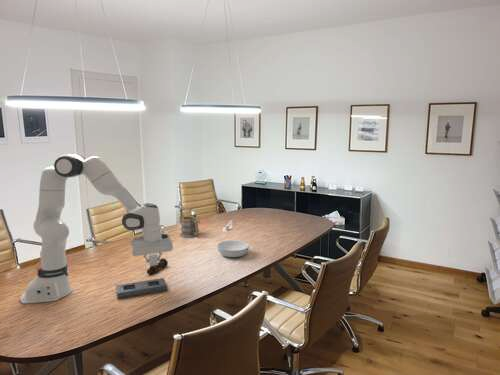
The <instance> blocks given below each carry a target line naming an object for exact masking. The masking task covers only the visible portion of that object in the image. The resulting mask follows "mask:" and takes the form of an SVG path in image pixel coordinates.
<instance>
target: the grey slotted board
mask: <svg viewBox="0 0 500 375" xmlns="http://www.w3.org/2000/svg"><path fill="white" fill-rule="evenodd" d="M115 288H116V289H115V290H116V297H117V300H120V299H126V298H132V297H139V296H144V295H151V294H156V293H161V292H168V283H167V282H166V280H165V278H164V277H162V278H155V279H149V280H143V281H142V280H141V281H136V282H129V283H123V284H121V283H120V284H116V285H115Z"/></svg>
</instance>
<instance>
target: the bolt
mask: <svg viewBox="0 0 500 375" xmlns="http://www.w3.org/2000/svg"><path fill="white" fill-rule="evenodd" d="M168 264H169V263H168V260H167V259H166V258H164V257H163V258H162V257H160V261H158V265H155V266H149V268H148V269H147V270H146V273H147V274H148V275H152V274H157V272H158V270H160V269H161V268H166V267H167V266H168Z"/></svg>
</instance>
